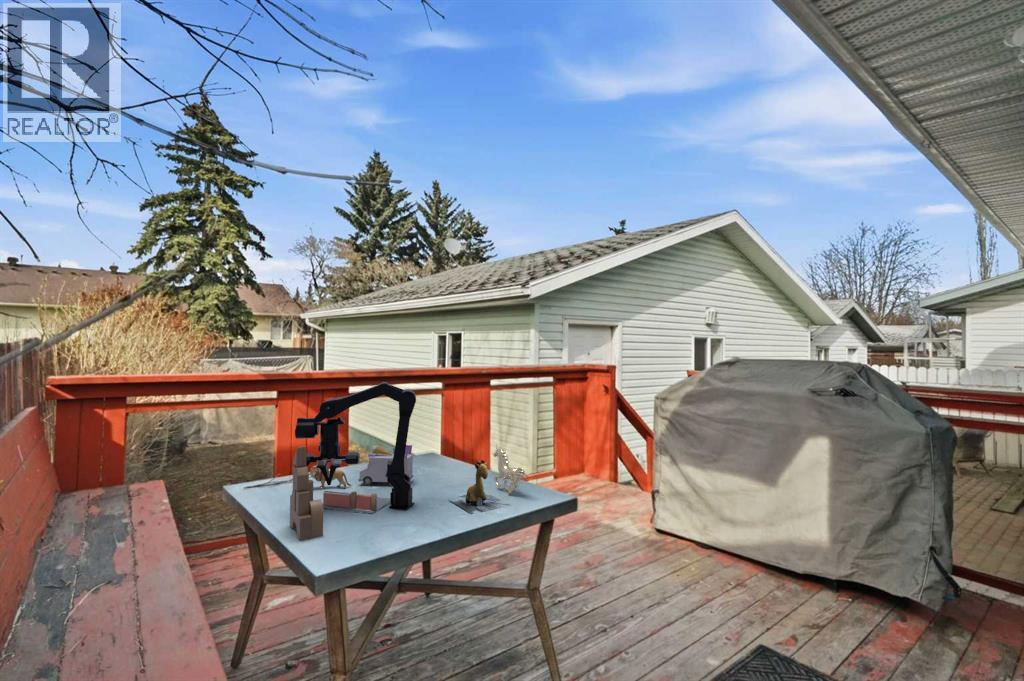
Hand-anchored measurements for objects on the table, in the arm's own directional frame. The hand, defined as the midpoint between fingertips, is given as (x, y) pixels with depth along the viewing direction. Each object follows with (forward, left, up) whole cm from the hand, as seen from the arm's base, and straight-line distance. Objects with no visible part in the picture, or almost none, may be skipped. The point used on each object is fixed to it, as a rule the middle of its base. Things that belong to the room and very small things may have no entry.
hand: (329, 484), depth 163 cm
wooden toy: (-3, +16, -9) cm, 19 cm away
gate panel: (-1, -3, -8) cm, 9 cm away
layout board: (-5, -8, -8) cm, 13 cm away
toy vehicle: (-3, -32, -9) cm, 34 cm away
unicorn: (-52, -35, -9) cm, 64 cm away
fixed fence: (-11, -3, -8) cm, 14 cm away
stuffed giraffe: (-44, -22, -9) cm, 50 cm away
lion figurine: (+14, -21, -9) cm, 27 cm away
